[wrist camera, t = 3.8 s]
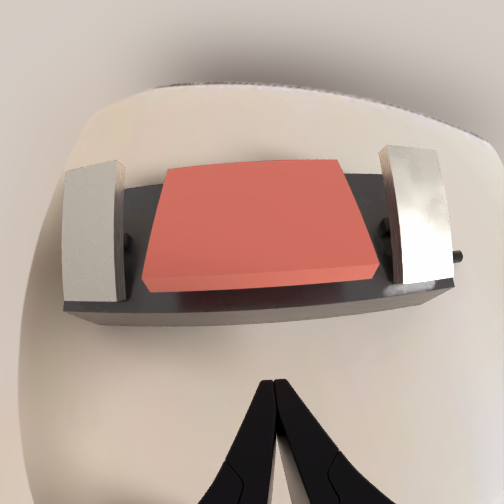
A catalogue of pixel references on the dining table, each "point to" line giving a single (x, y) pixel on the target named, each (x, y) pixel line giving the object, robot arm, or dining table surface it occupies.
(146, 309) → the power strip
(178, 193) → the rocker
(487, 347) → the dining table surface
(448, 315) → the dining table surface
